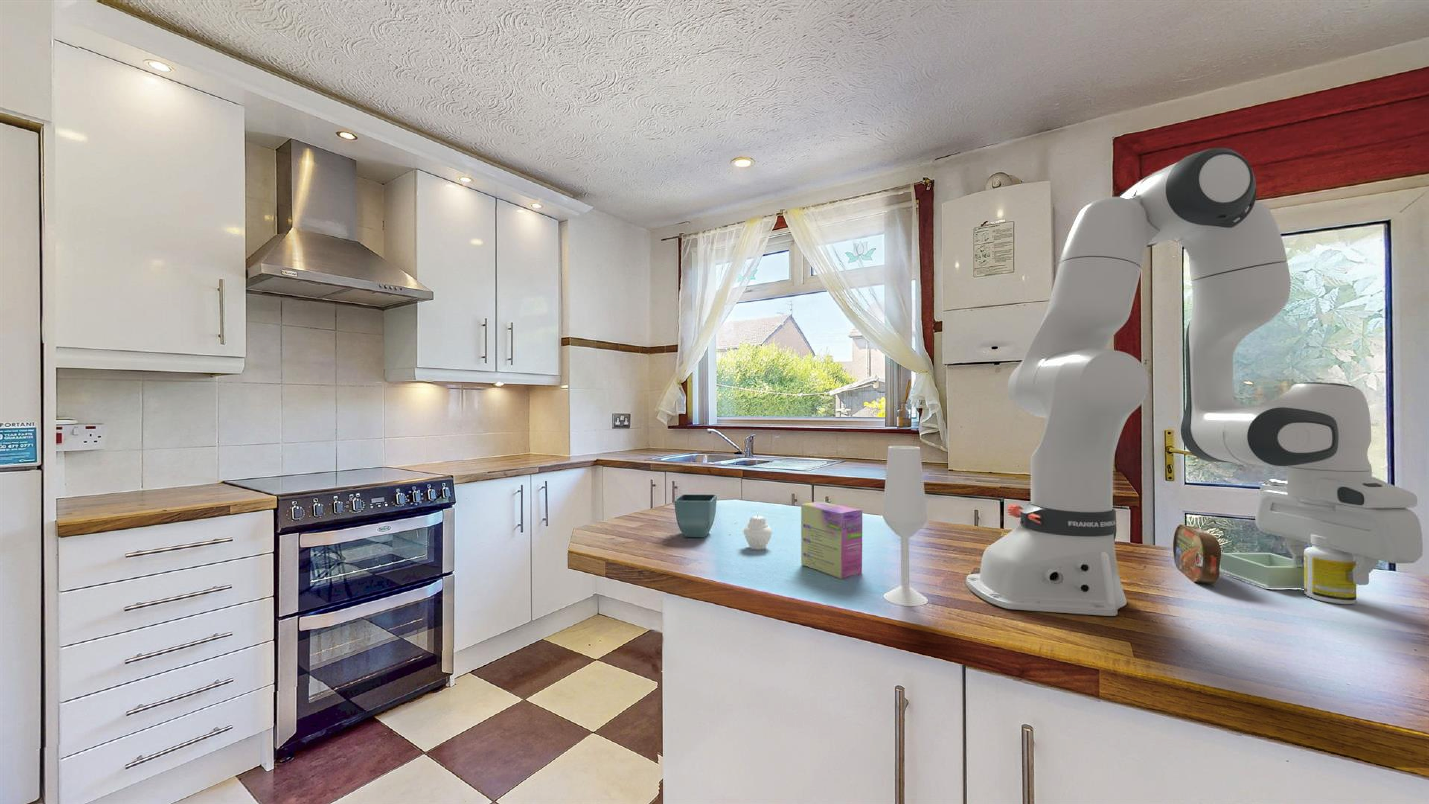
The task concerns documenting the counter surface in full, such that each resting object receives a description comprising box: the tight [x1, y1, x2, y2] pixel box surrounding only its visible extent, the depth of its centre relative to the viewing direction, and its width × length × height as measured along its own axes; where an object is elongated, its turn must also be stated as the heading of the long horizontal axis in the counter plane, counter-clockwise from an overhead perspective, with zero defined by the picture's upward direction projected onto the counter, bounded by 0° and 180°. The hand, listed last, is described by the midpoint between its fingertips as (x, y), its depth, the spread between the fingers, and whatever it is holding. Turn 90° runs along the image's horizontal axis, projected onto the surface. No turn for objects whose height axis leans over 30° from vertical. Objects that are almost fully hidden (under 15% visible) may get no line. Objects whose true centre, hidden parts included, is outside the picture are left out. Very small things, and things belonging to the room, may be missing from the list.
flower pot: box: [673, 493, 718, 539], centre depth 129 cm, size 9×9×9 cm
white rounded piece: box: [743, 514, 773, 551], centre depth 117 cm, size 6×6×7 cm
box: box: [800, 500, 863, 580], centre depth 102 cm, size 10×6×12 cm, turn 34°
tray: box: [1220, 552, 1304, 589], centre depth 93 cm, size 9×9×4 cm
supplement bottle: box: [1303, 534, 1357, 605], centre depth 85 cm, size 5×5×10 cm
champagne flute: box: [882, 445, 929, 607], centre depth 87 cm, size 7×7×24 cm
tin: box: [1172, 523, 1222, 585], centre depth 96 cm, size 15×3×8 cm, turn 154°
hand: (1329, 575), depth 85 cm, fingers open, 6 cm apart
